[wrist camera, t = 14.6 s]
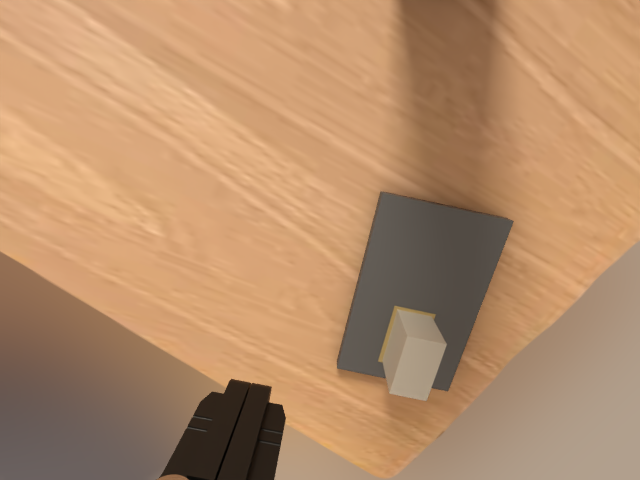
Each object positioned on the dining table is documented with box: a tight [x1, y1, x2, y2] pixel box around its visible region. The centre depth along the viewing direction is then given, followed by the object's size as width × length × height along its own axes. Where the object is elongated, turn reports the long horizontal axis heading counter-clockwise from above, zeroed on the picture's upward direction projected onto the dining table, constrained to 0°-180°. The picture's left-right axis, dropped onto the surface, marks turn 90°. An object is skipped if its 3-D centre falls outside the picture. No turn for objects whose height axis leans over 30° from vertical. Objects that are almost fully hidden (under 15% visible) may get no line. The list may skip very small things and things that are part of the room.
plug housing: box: [382, 309, 447, 401], centre depth 36 cm, size 7×4×6 cm, turn 169°
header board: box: [337, 191, 514, 391], centre depth 36 cm, size 22×14×6 cm, turn 168°
